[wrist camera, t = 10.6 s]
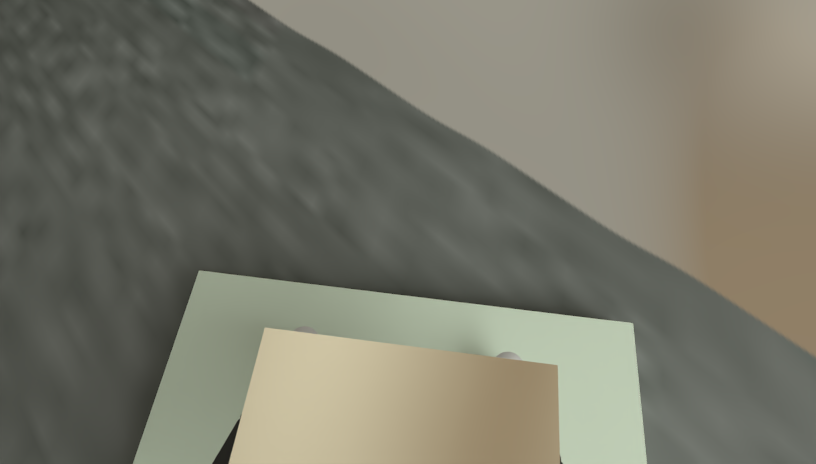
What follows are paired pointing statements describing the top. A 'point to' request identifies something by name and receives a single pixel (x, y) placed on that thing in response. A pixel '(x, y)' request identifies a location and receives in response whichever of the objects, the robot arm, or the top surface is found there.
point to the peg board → (396, 324)
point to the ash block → (393, 405)
